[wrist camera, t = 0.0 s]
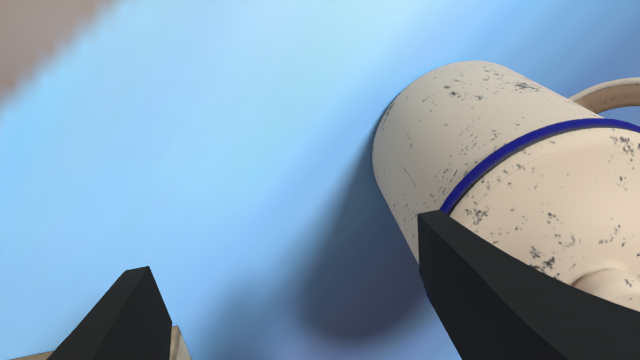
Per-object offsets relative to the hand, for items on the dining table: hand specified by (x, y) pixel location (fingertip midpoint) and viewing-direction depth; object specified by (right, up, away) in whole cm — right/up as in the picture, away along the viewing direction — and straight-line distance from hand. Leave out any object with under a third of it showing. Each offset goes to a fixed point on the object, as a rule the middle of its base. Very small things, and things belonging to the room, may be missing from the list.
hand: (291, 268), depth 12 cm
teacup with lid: (+9, +5, +11) cm, 14 cm away
